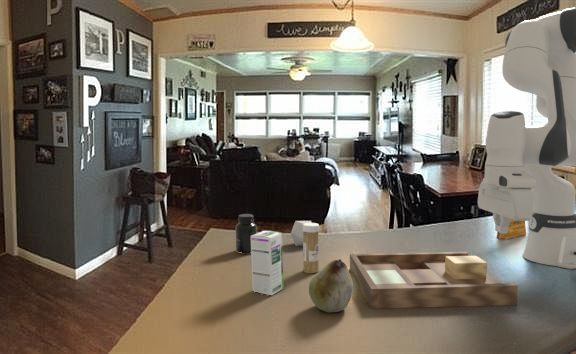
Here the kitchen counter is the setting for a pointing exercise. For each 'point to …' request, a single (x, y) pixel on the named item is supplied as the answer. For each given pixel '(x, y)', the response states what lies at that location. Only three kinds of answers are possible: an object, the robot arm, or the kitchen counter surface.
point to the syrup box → (267, 262)
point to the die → (298, 232)
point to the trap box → (423, 282)
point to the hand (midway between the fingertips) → (501, 232)
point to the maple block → (465, 267)
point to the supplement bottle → (245, 233)
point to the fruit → (331, 287)
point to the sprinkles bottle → (310, 248)
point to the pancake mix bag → (513, 230)
